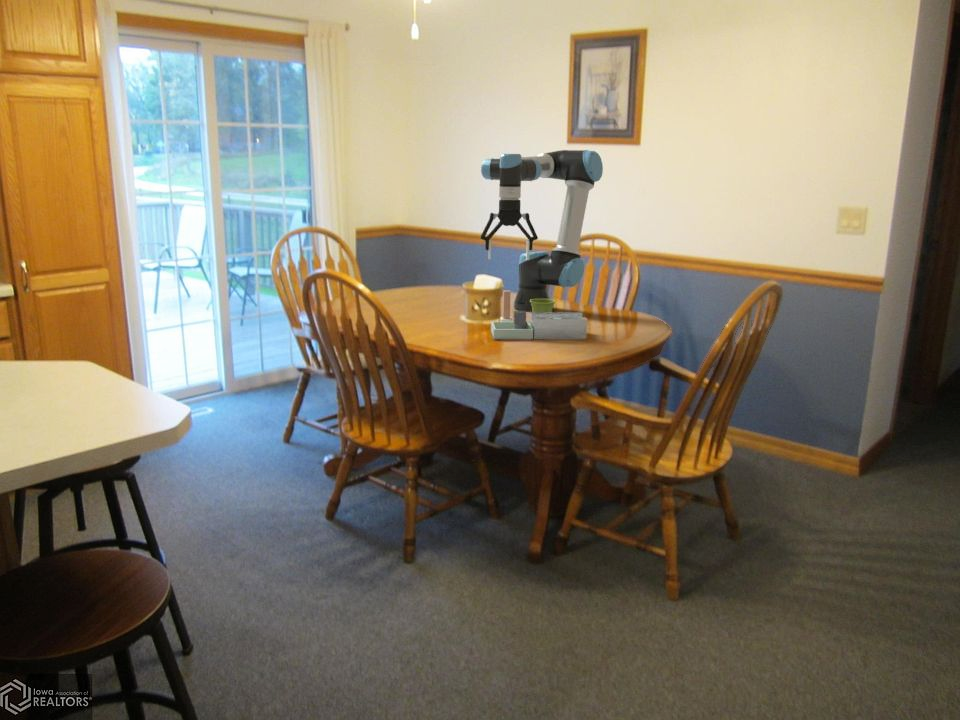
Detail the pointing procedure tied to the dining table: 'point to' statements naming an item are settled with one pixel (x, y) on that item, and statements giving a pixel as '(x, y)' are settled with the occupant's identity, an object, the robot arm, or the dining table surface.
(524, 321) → the grey cube
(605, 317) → the dining table surface
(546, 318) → the slot block
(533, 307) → the plant pot
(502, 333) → the tray
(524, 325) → the chip
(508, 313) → the scraper
